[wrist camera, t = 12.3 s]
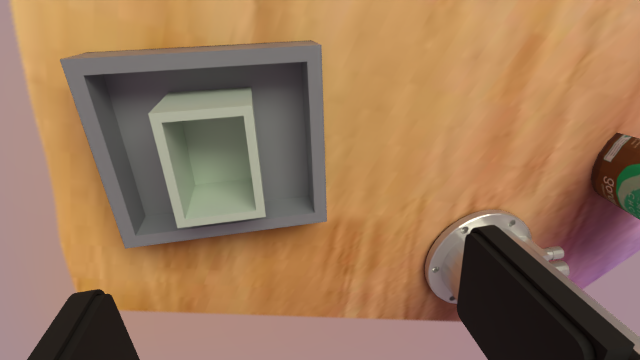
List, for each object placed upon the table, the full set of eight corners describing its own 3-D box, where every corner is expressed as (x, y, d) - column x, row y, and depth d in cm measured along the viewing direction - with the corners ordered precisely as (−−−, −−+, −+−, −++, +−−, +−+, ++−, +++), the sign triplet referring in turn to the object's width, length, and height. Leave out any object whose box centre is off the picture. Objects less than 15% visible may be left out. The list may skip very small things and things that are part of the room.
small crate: (251, 86, 27) (252, 105, 21) (262, 180, 30) (265, 217, 25) (168, 92, 26) (148, 113, 20) (190, 188, 29) (177, 228, 24)
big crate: (311, 40, 27) (321, 44, 23) (318, 198, 33) (326, 221, 30) (86, 52, 24) (59, 59, 21) (139, 221, 31) (125, 248, 27)
